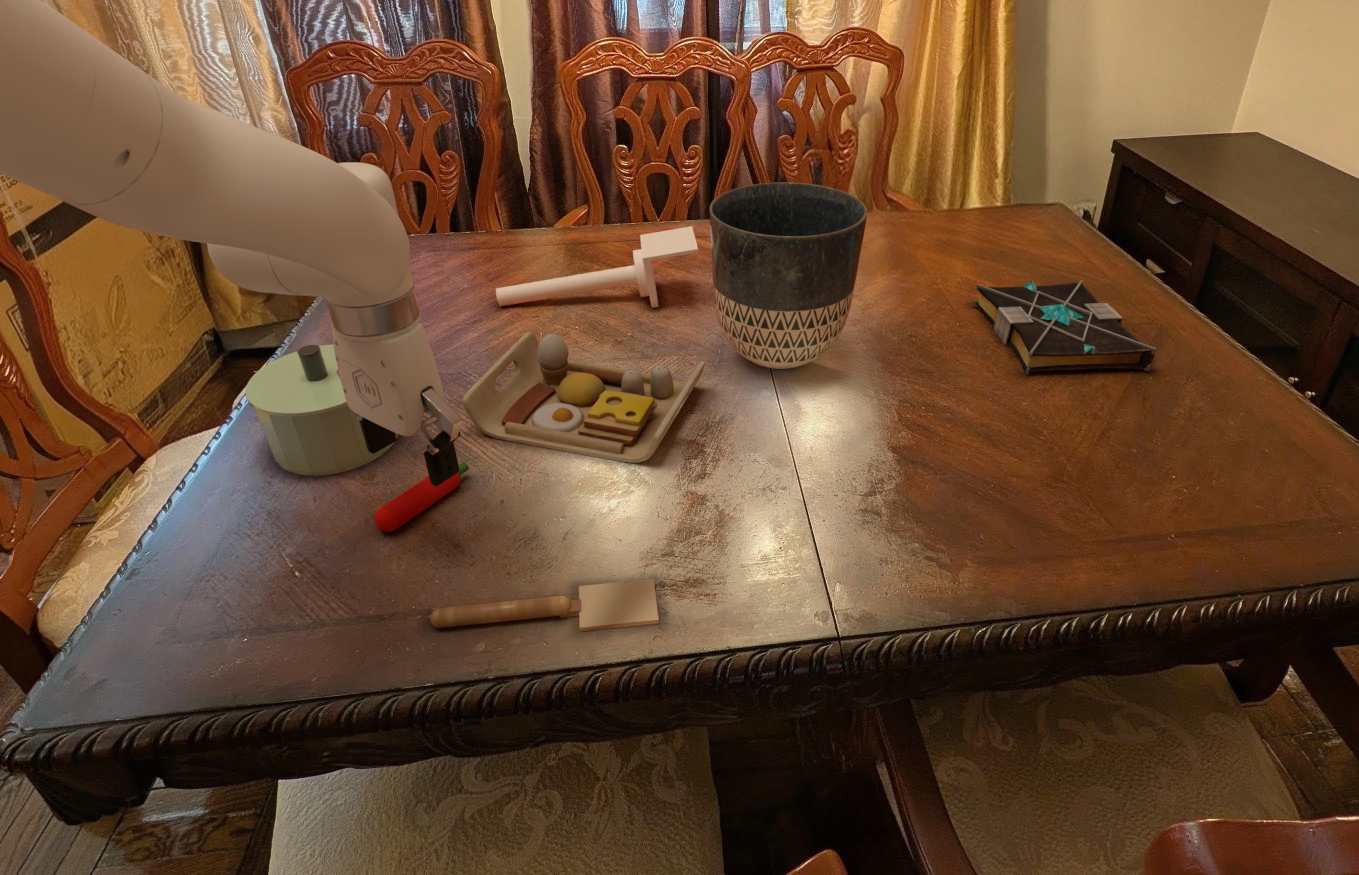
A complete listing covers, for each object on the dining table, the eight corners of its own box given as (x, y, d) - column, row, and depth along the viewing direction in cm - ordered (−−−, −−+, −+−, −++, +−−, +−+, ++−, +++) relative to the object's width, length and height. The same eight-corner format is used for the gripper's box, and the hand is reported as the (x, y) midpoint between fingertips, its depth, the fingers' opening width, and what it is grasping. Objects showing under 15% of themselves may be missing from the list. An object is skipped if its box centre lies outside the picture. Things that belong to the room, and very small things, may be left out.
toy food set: (467, 434, 98) (456, 381, 94) (534, 362, 112) (526, 313, 108) (662, 470, 92) (659, 415, 87) (707, 389, 106) (707, 338, 101)
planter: (686, 376, 108) (684, 223, 96) (738, 315, 123) (742, 175, 110) (826, 407, 102) (843, 246, 89) (864, 338, 116) (883, 192, 103)
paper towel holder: (698, 249, 119) (487, 284, 120) (705, 301, 125) (503, 335, 125) (692, 226, 127) (494, 259, 127) (699, 276, 132) (508, 308, 133)
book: (1150, 372, 107) (1162, 339, 104) (1025, 377, 106) (1033, 344, 104) (1077, 300, 124) (1086, 270, 122) (970, 304, 124) (976, 274, 121)
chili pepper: (388, 529, 82) (369, 510, 82) (385, 541, 84) (367, 522, 84) (477, 468, 90) (459, 451, 90) (472, 480, 92) (455, 464, 92)
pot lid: (300, 437, 85) (286, 401, 82) (221, 394, 92) (207, 359, 89) (415, 374, 95) (407, 340, 92) (336, 340, 102) (326, 307, 100)
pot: (322, 491, 90) (299, 429, 85) (249, 448, 97) (224, 389, 92) (424, 429, 99) (409, 370, 94) (351, 394, 106) (334, 337, 101)
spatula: (428, 647, 72) (424, 634, 70) (436, 604, 76) (432, 591, 75) (659, 623, 73) (658, 610, 72) (653, 582, 77) (653, 569, 76)
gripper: (281, 301, 74) (330, 452, 83) (403, 350, 65) (441, 512, 75) (350, 273, 79) (389, 419, 88) (472, 316, 70) (500, 472, 80)
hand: (413, 462), depth 82 cm, fingers open, 9 cm apart
